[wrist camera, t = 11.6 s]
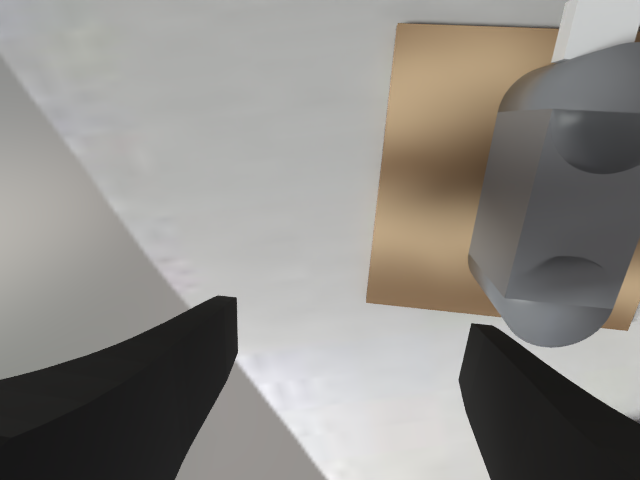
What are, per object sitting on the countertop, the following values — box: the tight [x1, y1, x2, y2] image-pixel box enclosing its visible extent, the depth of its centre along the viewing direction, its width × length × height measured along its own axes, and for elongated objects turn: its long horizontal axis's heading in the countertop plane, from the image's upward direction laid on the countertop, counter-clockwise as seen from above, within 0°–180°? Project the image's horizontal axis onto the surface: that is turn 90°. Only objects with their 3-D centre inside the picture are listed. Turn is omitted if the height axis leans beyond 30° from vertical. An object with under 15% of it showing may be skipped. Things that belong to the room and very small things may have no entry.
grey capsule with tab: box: [468, 0, 640, 347], centre depth 15 cm, size 13×4×5 cm, turn 177°
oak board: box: [366, 23, 640, 331], centre depth 17 cm, size 14×14×1 cm
